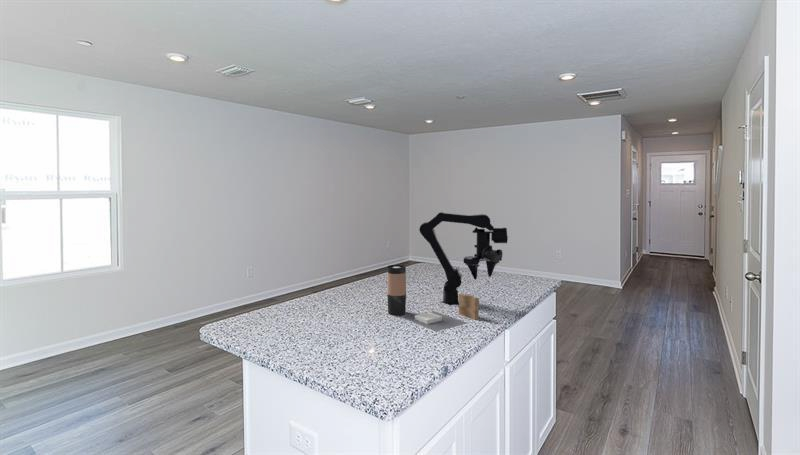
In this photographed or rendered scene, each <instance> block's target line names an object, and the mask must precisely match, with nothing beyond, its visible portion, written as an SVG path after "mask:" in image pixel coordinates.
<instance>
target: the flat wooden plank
mask: <svg viewBox="0 0 800 455" xmlns="http://www.w3.org/2000/svg"><path fill="white" fill-rule="evenodd" d="M479 299H480V297H477V296H474V295H469V294H466V293H463V292H462V293H458V302H459V304H458V315H459V316H461V317H462V316H463V317H466V318H468V319H471V320H474V321H476V320H479V318H480V316H479V312H480V311H479V308H480V304H479V302H480V300H479Z"/></svg>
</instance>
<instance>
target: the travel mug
mask: <svg viewBox="0 0 800 455" xmlns="http://www.w3.org/2000/svg"><path fill="white" fill-rule="evenodd" d="M406 269H407V268H406V265H403V264H391V265H390V264H389V265H387V268H386V270H387V272H386V274H387V277H386V278H387V279H386V280H387V281H386V283H387V286H386V287H387V290H386V291H387V292H386V294H387V312H388V315H390V316H395V317H399V316H404V315H406V309H407V307H406V305H407V304H406V303H407V282H406V281H407V277H406V276H407V274H406V273H407V271H406Z"/></svg>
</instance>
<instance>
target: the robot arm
mask: <svg viewBox="0 0 800 455" xmlns="http://www.w3.org/2000/svg"><path fill="white" fill-rule="evenodd" d="M442 222H446V223H447V222H449V223H455V224H456V223H458V224H466V225H471V226H472V227H473V226H474V227H475V228H474V229H473V230H472V233H473V234H476V244H474V248H475V249H476V253H474V255H473V256H472V255H469V256H468V255H467V256H464V258H463V264H465V265H466V266H467V267H468V269H469V271H470V273H471V275H472V277H473V280H477V279H478V268H479V267H480V262H484V261H485V264H486V269H487V275H488V277H490V278H491V277H492V276H493V272H494V269H495V267H496V266H497V265H498V264H500V261H502V260H503V249H501V248H500V249H493V246H492V245H491V244H490V243H491V242H493V243H494V244H508V228H507V227H494V225H492V224H491V219H490V217H489V216H488V215H487V214H485V213H484V214H483V213H481V214H472V215H471V214H470V215H469V214H459V213H450V212H443V211H440V212H438V213H437V214H436V215H435V216H434V217H433V218H432V219H431V220H429V221H426V222H423V223H422V224H421V225H420V226H419V230H418V231H419V233H420V235H421V236H422V237H423V238H424V239H425V240H426V242H427V243H429V245H430V247H431V249H432V250H433V252H434V255H435V256H436V258H437V260H438V261H439V263H440V265H441V267H442V269H443V271H444V273H445V277H446V281H445V282H444V285H443V289H442V290H443V293H442V296H443V298H442V300H443V301H440V303H443V304H445V305H449V306H452V305H459V291H458V290H457V289H458V288H460V286H461V285H462V282H463V281H462V280H463V279H462V277H463V274H462V273H461V272H460V270H459V268H458V267H454V266H453V265H452V263H451V262H450V259H449V258H448V256H447V254H446V253H445V250H444V249H443V246H442V245H441V243H440V242H439V240H438V237H437V234H436V230H435V228H436V227H437V226H438V225H440V224H441V223H442ZM485 229H486V230H485ZM490 240H491V241H490Z"/></svg>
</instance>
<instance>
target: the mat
mask: <svg viewBox="0 0 800 455" xmlns="http://www.w3.org/2000/svg"><path fill="white" fill-rule="evenodd" d="M428 312H430V313H433V314H436V315H439V316H442V321H438V322H434V323H429V324H426V323H423V322H420V321H418V320H415V315H416V314H415V315H411V316H406V317H403V319H404V320H405V321H406V320H407V321H409V322H412V323H414V324H416V325H418V326H422V327H423V328H426V329H429V330H431V331H433V332H439V331H443V330H446V329H447V330H448V329H452V328H455V327H459V326H463V325H467V324H468V322H466V321H463V320H460V319H458V318H455V317H451V316H448V315H447V314H443V313H441V312H439V311H434V310H432V311H427V312H426V313H428ZM424 313H425V312H424ZM424 313H422V314H424ZM419 314H420V313H419ZM419 314H417V315H419Z"/></svg>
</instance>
